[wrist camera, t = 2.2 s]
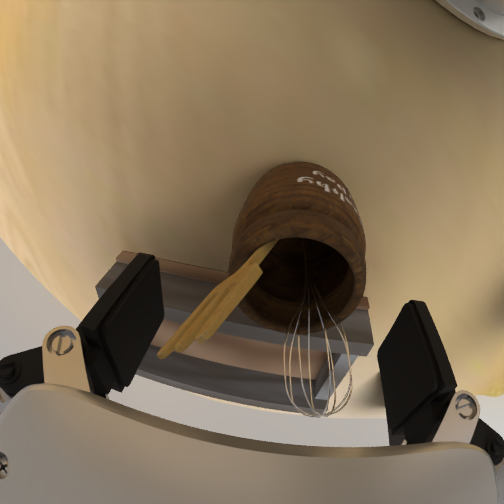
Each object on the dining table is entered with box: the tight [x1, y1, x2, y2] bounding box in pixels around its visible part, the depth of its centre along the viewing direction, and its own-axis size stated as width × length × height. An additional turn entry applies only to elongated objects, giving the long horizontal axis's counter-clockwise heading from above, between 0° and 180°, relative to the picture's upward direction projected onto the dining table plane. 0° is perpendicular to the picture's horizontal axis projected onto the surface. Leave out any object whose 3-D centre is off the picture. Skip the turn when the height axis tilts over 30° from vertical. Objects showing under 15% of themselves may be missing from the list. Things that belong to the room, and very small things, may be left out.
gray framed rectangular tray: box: [95, 251, 374, 415], centre depth 20 cm, size 11×18×4 cm, turn 84°
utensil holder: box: [157, 162, 366, 418], centre depth 11 cm, size 6×6×12 cm
